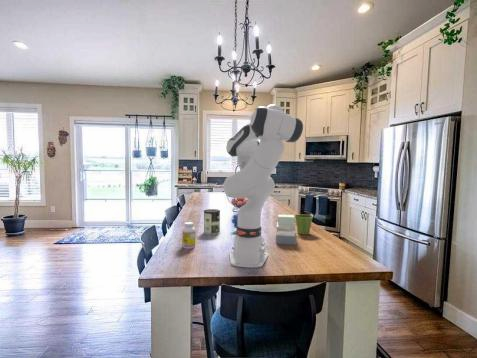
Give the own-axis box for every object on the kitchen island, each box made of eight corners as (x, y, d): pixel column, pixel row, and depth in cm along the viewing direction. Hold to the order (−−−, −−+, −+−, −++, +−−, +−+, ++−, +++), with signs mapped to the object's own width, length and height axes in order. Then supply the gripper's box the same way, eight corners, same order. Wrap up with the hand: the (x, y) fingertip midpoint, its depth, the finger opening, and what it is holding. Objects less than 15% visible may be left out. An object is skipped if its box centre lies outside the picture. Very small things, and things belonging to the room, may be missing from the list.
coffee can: (220, 230, 175) (220, 209, 174) (219, 234, 165) (219, 212, 164) (204, 230, 175) (204, 208, 174) (202, 234, 165) (202, 211, 164)
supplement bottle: (179, 246, 141) (179, 222, 140) (190, 244, 146) (190, 220, 145) (187, 250, 136) (187, 225, 135) (197, 247, 141) (197, 223, 140)
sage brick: (294, 226, 149) (294, 217, 149) (278, 225, 150) (278, 216, 150) (293, 223, 155) (293, 215, 155) (277, 223, 156) (277, 214, 156)
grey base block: (296, 245, 147) (296, 236, 147) (276, 244, 148) (276, 235, 148) (294, 239, 158) (294, 231, 157) (275, 238, 159) (275, 230, 159)
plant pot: (315, 232, 172) (316, 215, 172) (309, 236, 163) (309, 218, 162) (298, 229, 179) (298, 213, 178) (290, 233, 169) (291, 216, 168)
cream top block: (294, 236, 147) (295, 227, 146) (276, 235, 148) (276, 226, 148) (294, 231, 157) (294, 223, 156) (276, 230, 158) (276, 222, 158)
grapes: (232, 232, 170) (232, 214, 169) (231, 230, 177) (231, 212, 176) (250, 232, 172) (250, 213, 171) (248, 229, 178) (249, 211, 177)
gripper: (248, 162, 146) (248, 187, 147) (251, 162, 166) (250, 184, 167) (237, 162, 147) (237, 187, 148) (240, 161, 167) (240, 184, 168)
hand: (244, 185), depth 158 cm, fingers open, 8 cm apart
